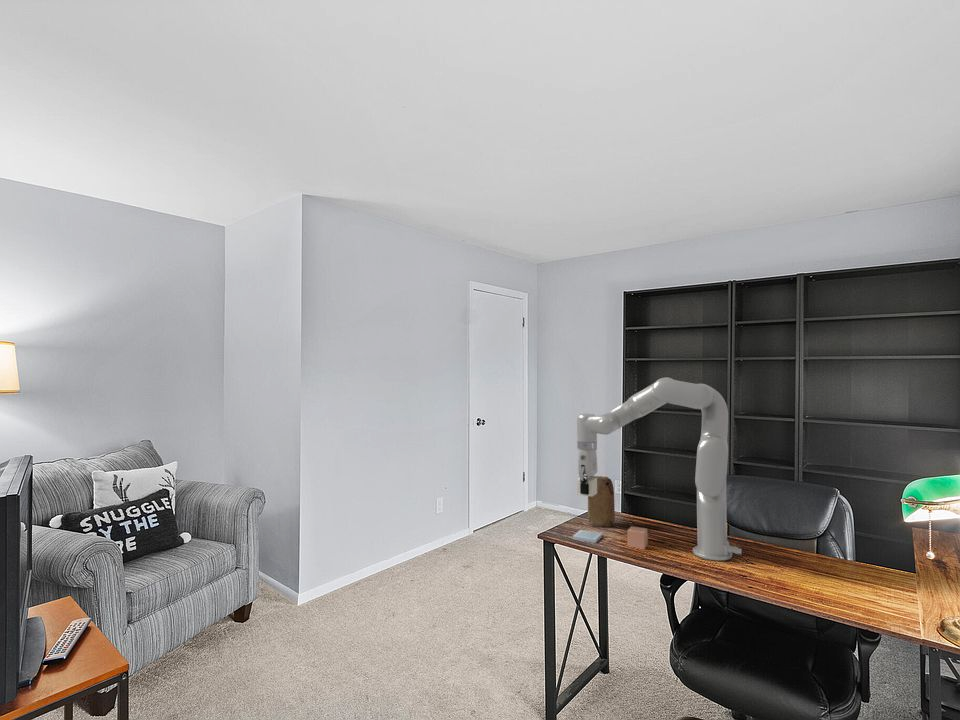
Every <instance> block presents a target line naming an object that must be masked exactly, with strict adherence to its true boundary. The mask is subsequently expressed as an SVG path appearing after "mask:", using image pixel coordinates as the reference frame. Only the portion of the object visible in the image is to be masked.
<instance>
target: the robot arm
mask: <svg viewBox="0 0 960 720" xmlns="http://www.w3.org/2000/svg"><path fill="white" fill-rule="evenodd" d="M666 404H671V405H676V406H681V407H686V408H690V409H696V410H700V411H701V431H700V440H699V442H698V445H697V449H696V463H695V464H696V465H695V474H694V475H695V476H694V482H695V488H696V527H697V528H696V531H697V537H696V538H697V541H696V542H697V543H696V544H697V545H696V546H694V547H692V553H693V554H694V555H695V556H696V557H700V558H702V559H705V560H709V561H729V560H731V559H732V558H733V554H735V555H742V548H739V547H738V546H733V545H731V544H730V541H728V533H727V532H728V525H727V522H728V521H727V520H728V519H727V516H728V515H727V510H728V509H727V474H728V461H729V459H728V458H729V444H728V433H729V410H728V405H727V403H726V401H725V399H724V397H723V396H722V394H721V393H720V392H719V391H718V390H716V389H715V388H713V387H712V386H710V385H708V384H705V383H692V382H687V381H681V380H678V379H673V378H671V377H661V378H659V379H657V380H656V381H655V382H653V383H652V384H650V385H648V386H647V387H645V388H644V389H642V390H640V391H638V392H636V393H634V394H633V395H631V396H630V397H628V399H627V400H626V401H624V402H623V403H622V404H620V405H618V406H617V407H615V408H614V409H612V410H610V411H608V412H606V413H603V414H600V415H595V414H593V413H579V414H578V415H577V418H576V419H577V420H576V424H577V425H576V434H577V435H576V438H577V441H576V443H577V444H576V445H577V446H576V448H577V450H578V462H577V465H578V467H577V469H578V470H577V471H578V473H577V474H578V476H579V478H580V493H581V494H586V495H588V494H589V484H588V478H589V477H593V478H594V476H595V475H596V474H597V473H598V457H597V450H598V435H606V436H607V435H610V434H612V433H614V432H616V431H618V430H619V429H621V428H623V427H625V426H626V425H628V424H631V422H634V421H636V420H637V419H640V418H643V417H644V416H647V415H648V414H650V413H652V412H653V411H655V410H657V409H658V408H660V407H663V406H664V405H666ZM584 477H586V479H585V478H584Z"/></svg>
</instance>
